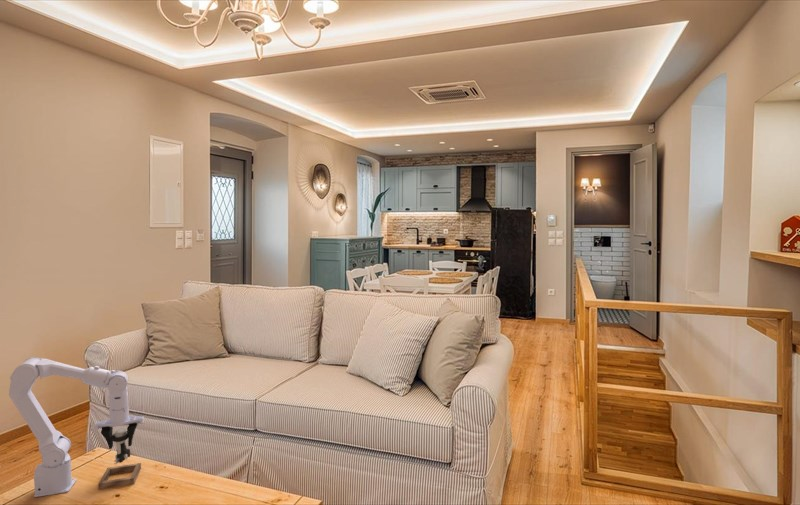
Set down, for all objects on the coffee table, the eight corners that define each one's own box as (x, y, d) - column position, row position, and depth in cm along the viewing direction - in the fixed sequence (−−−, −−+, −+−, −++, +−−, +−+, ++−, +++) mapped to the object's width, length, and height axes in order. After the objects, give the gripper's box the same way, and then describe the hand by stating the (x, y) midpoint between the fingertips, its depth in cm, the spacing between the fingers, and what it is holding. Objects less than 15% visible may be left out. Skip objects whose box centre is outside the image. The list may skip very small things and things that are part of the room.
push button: (122, 465, 159) (120, 437, 158) (107, 465, 159) (105, 437, 158) (134, 455, 166) (132, 428, 165) (120, 455, 166) (117, 428, 165)
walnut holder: (98, 489, 154) (98, 483, 154) (107, 473, 164) (107, 467, 164) (134, 483, 157) (134, 478, 157) (141, 468, 167) (140, 462, 167)
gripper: (145, 400, 167) (146, 438, 168) (98, 406, 163) (99, 444, 164) (141, 408, 161) (142, 446, 161) (91, 413, 156) (93, 453, 157)
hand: (120, 446), depth 162 cm, fingers closed on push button, 5 cm apart
